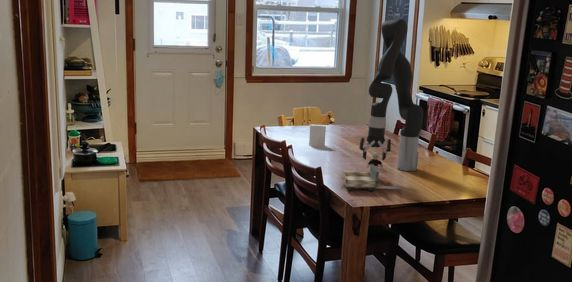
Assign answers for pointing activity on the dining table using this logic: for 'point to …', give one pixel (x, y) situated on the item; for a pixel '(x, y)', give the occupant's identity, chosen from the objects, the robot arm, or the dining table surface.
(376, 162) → the grandmother figurine
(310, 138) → the light grey upright block
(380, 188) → the strip
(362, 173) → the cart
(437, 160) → the dining table surface
